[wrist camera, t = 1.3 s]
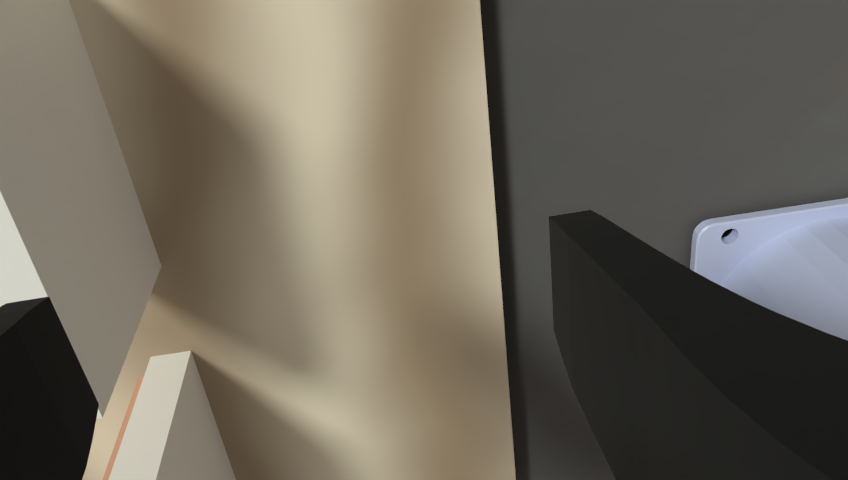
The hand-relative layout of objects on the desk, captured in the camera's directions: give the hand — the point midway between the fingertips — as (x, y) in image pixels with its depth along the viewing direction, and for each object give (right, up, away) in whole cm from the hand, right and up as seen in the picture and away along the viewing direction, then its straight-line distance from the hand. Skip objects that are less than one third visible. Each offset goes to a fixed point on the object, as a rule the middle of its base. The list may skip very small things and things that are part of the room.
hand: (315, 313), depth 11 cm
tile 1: (-7, +4, +8) cm, 11 cm away
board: (-5, 0, +11) cm, 12 cm away
